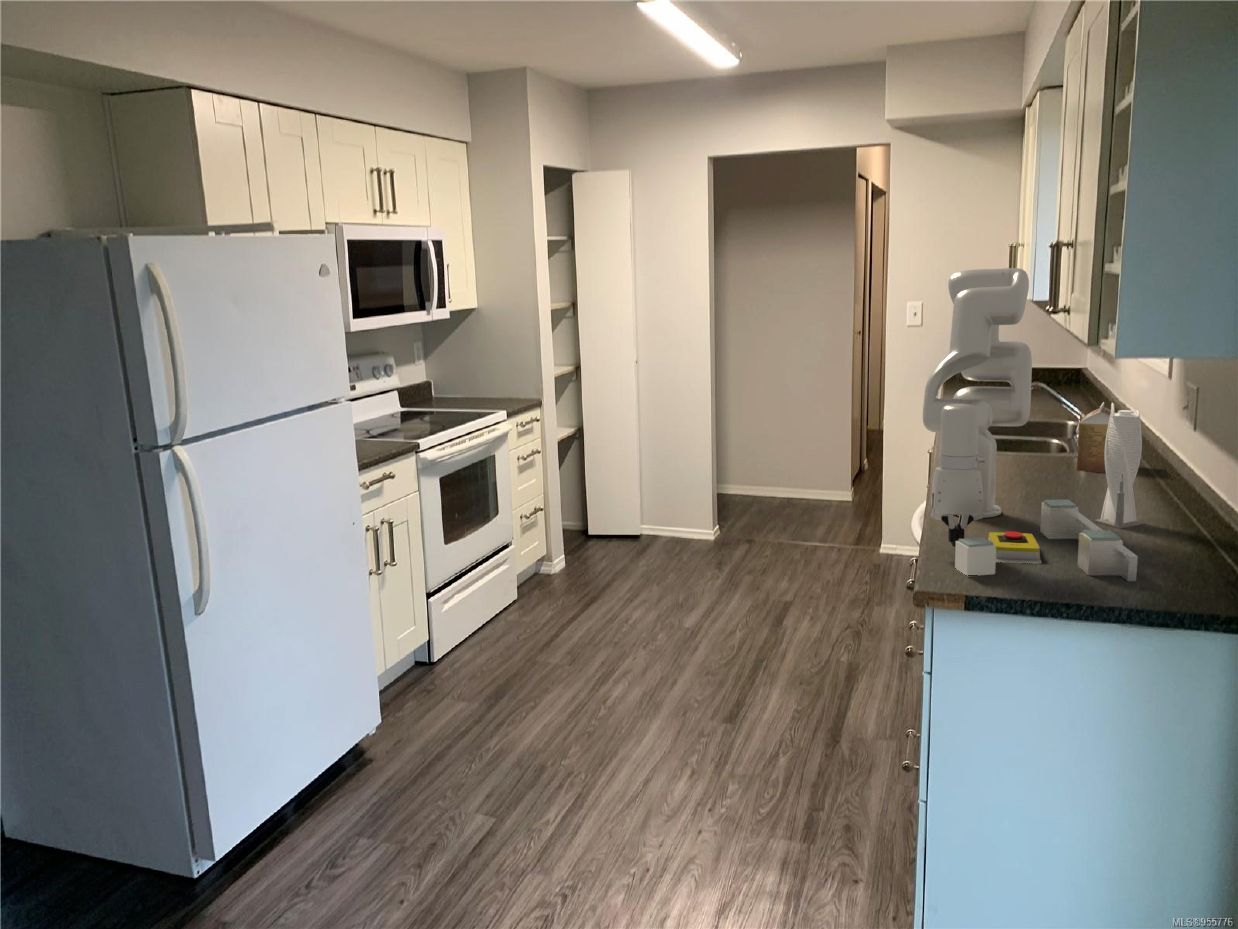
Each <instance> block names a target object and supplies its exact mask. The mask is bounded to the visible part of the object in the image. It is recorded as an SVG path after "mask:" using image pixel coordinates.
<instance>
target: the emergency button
mask: <svg viewBox="0 0 1238 929" xmlns="http://www.w3.org/2000/svg"><path fill="white" fill-rule="evenodd" d="M987 540H989V541H991V542H993V544H994V545H996V563H998V562H999V563H1000V562H1002V563H1000V564H1022V563H1026V564H1027V563H1028V565H1029V563H1030V565H1040V564H1042V562H1041V561H1042V560H1041V549H1040V546H1039V544H1038V542H1037V540H1036V538H1035V537H1034V535H1033V534H1032V533H1027V532H1024V533H1023V532H1022V533H1021V532H1019V531H1006V532H992V531H991V532H989V533H988V539H987ZM1017 561H1019V562H1017ZM1020 561H1025V562H1020ZM1028 561H1029V562H1028ZM1030 561H1031V562H1030ZM1032 561H1033V562H1032ZM1034 561H1036V562H1034ZM1037 561H1038V562H1037ZM1039 561H1040V562H1039ZM1031 563H1032V564H1031Z"/></svg>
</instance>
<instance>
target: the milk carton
mask: <svg viewBox="0 0 1238 929" xmlns="http://www.w3.org/2000/svg"><path fill="white" fill-rule="evenodd" d="M1110 414H1111V408H1110V409H1109V408H1108V407H1105V402H1104V401H1103V402H1102V403H1101V405H1100V406H1099V408H1097V409H1095V410H1092V411H1090V412H1089V413H1087V414H1086V415H1084V416H1083V417H1082V418H1081V420H1080V422H1078V437H1077V438H1078V439H1077V458H1076V459H1077V460H1076V471H1079V472H1080V471H1081V472H1083V471H1084V472H1097V473H1106V470H1105V440H1106V434H1107V429H1108V424H1109V419H1110Z"/></svg>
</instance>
